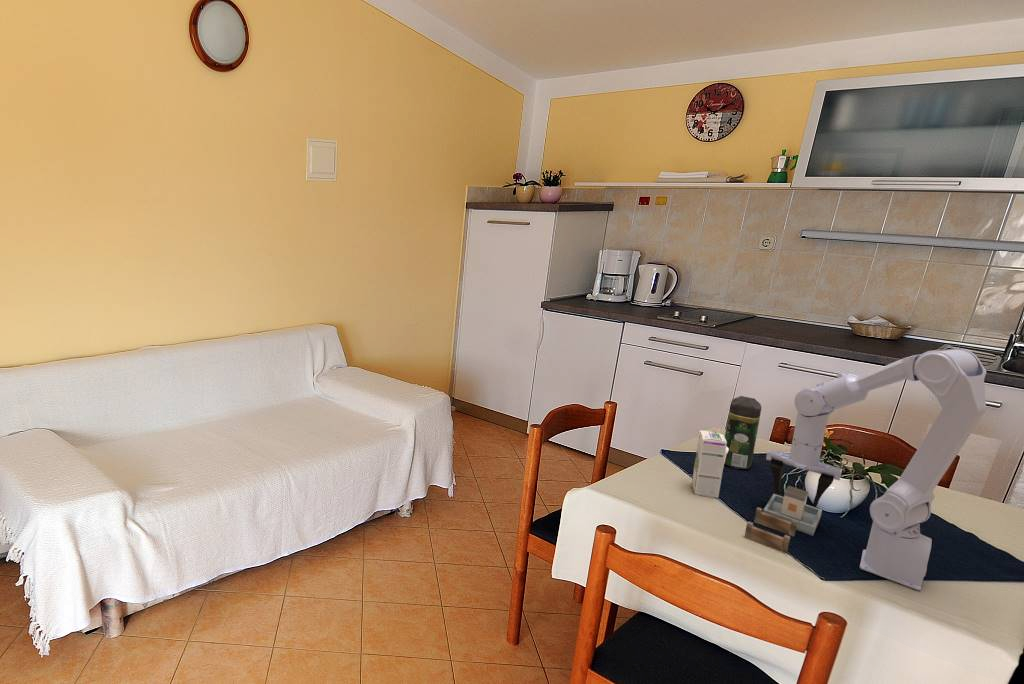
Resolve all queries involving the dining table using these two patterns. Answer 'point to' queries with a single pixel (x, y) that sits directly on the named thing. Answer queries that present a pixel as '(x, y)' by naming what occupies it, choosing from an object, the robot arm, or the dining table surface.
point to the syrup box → (709, 463)
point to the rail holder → (768, 537)
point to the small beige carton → (794, 503)
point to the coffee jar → (742, 431)
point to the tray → (805, 525)
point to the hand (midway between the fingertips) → (795, 498)
